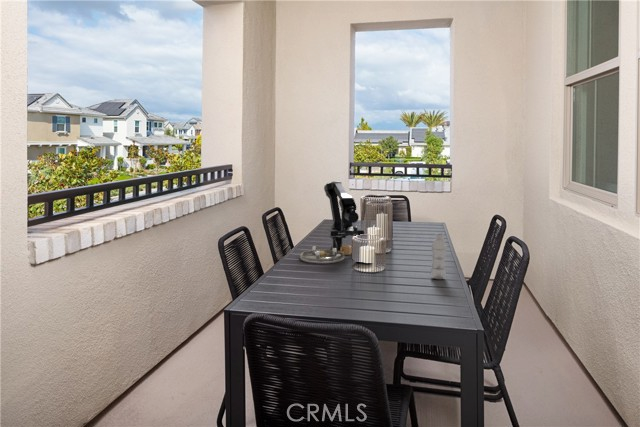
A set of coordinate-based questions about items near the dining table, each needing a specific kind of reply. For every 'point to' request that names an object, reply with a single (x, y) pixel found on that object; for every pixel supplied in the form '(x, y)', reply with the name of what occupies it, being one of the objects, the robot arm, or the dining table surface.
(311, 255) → the carrier
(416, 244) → the dining table surface
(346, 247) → the planet gear
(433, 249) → the plastic bottle
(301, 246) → the dining table surface
